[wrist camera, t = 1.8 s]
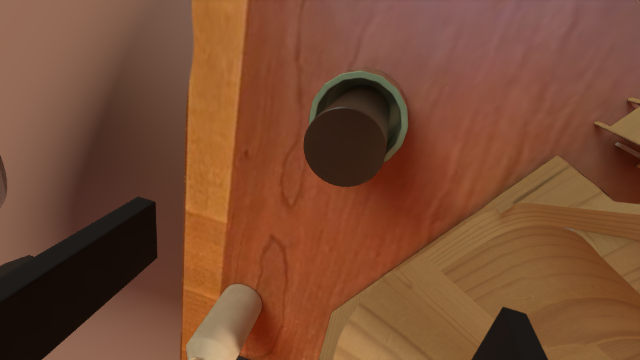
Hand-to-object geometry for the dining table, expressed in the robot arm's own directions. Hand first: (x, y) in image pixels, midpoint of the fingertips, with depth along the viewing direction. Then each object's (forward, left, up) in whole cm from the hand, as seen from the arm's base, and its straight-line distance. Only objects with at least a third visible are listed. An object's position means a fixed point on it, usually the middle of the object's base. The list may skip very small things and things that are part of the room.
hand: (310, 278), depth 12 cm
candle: (-9, -26, -21) cm, 34 cm away
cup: (-1, +2, -20) cm, 21 cm away
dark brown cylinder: (-1, +2, -20) cm, 20 cm away
